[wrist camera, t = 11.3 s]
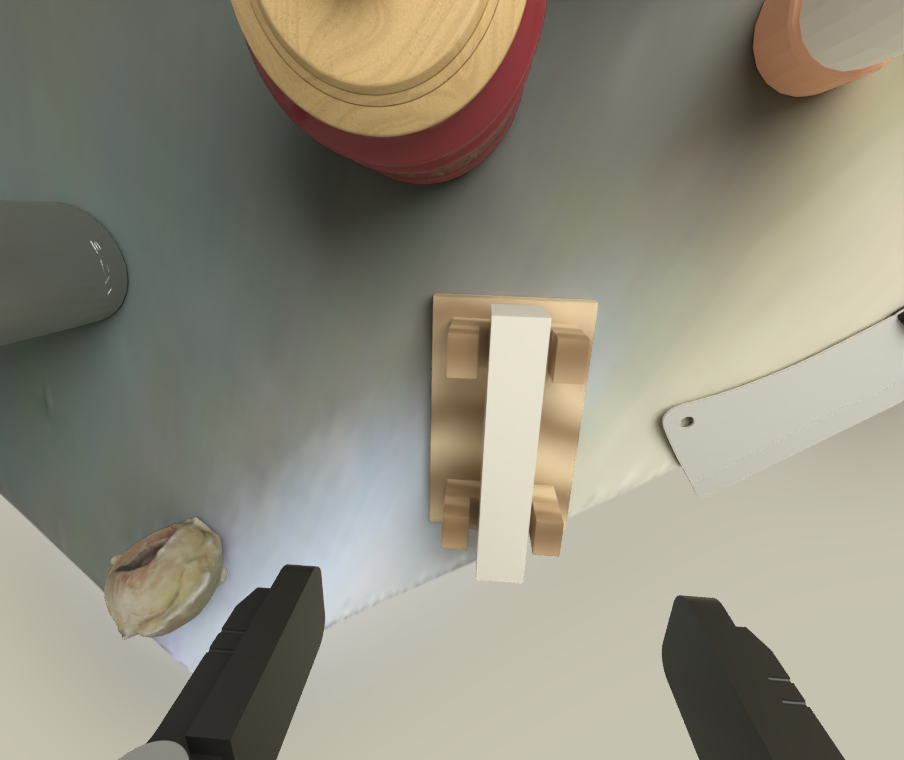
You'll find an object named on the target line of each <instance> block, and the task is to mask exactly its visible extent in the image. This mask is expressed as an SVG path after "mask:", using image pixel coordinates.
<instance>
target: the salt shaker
mask: <svg viewBox="0 0 904 760" xmlns="http://www.w3.org/2000/svg"><path fill="white" fill-rule="evenodd" d="M753 51H754V56H755V61H756V67H757V69H758V71H759V72H760V74H761V76H762V77H763V79H764V81H765V82H766V83H767V84H768V85H769V86H771V87H772V88H773V89H775V90H776V91H778V92H779V93H781V94H785V95H790V96H794V97H803V96H811V95H817V94H820V93H822V92H825V91H828V90H830V89H833V88H836V87H838V86H841V85H843V84H846V83H849V82H851V81H854V80H857V79H859V78H861V77H863V76H866V75H868V74H870V73H872V72H874V71H877V70H879V69H881V68H882V67H883V66H884V65H886V64H887V63H888V62H889V61H891V60H892V59H893V58H894V57H897V56H900V55H903V54H904V0H765V2H764V4H763V6H762V9H761V12H760V14H759V17H758V20H757V22H756V25H755V32H754V42H753Z"/></svg>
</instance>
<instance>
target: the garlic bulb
mask: <svg viewBox="0 0 904 760" xmlns="http://www.w3.org/2000/svg"><path fill="white" fill-rule="evenodd" d="M111 564H112V565H113V566H112V568H111V570H110V572H109V575H108V577H107V580H106V584H105V601H106V605H107V608H108V611H109V613H110V615H111V616H112V618H113V619H114V621H115V623H116V624H117V626H118V631H119V632H120V633H121V634H122V638H123V639H124V640H125V639H128V638H130V637H132V636H135V635H138V634H140V635H141V636H143V637H158V636H162V635H165V634H168V633H170V632H172V631H174V630H176V629H177V628H179V627H181V626H183V625H184V624H186V623H187V622H189V621H191V620H192V619H194V618H195V617H196V616H197V615H198V614H199V613H200V612H201V611H202V610H203V608H204V607H205V606H206V604H207V603H208V602H209V600H210V599H211V597H212V595H213V593H214V591H215V589H216V588H217V587H218V586H219V585H220V584H221V583H222V582H224V581H225V579H226V576H227V569H226V568H225V567H224V566H223V565H222V564H223V547H222V543H221V537H220V536H219V535H218V534H216V533H215V532H213V531H212V530H211V529H210V528H209V527H208V526H207V525H206V524H205V523H204V522H202V521H200V520H199V519H198V518H197V517H195V518H193V519H187V520H186V521H185V522H183V523H181V524H174V525H172V526H171V527H168V528H164V529H161V530H158V531H156V532H154V533H152V534H150V535H149V536H147V537H146V538H144V539H142V540H141V541H139V542H137V543H135V544H134V545H132V546H131V547H130V548H129V549H128V550H127V551H126V552H125V553H124V554H121V555H118V556H115V557H113V558H112V559H111Z"/></svg>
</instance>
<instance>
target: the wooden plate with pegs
mask: <svg viewBox="0 0 904 760" xmlns="http://www.w3.org/2000/svg"><path fill="white" fill-rule="evenodd" d="M491 304H509V305H534V306H543V307H544V308H545V310H546V311H547V312H548V314H549V315H550V317H551V328H550V337H549V346H548V356H547V365H546V374H545V384H544V393H543V402H542V411H541V421H540V430H539V439H538V449H537V458H536V467H535V476H534V486H533V495H532V504H531V514H530V523H529V532H528V533H530V540H531V546H532V553H533V555H546V556H558V557H559V554H560V548H561V540H562V533H563V531H565V528H566V521H567V514H568V508H569V501H570V494H571V487H572V480H573V473H574V467H575V460H576V453H577V446H578V439H579V432H580V426H581V419H582V412H583V405H584V398H585V391H586V385H587V378H588V371H589V364H590V357H591V350H592V344H593V337H594V330H595V323H596V316H597V309H598V303H597V302H596V301H594V300H585V299H561V298H538V297H514V296H491V295H467V294H444V293H435V294H434V296H433V337H432V396H431V454H430V513H429V521H433V522H442V548H448V549H462V550H467V548H468V530H469V529H477V528H478V511H479V494H480V477H481V460H482V443H483V426H484V409H485V392H486V375H487V358H488V341H489V324H490V307H491Z"/></svg>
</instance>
